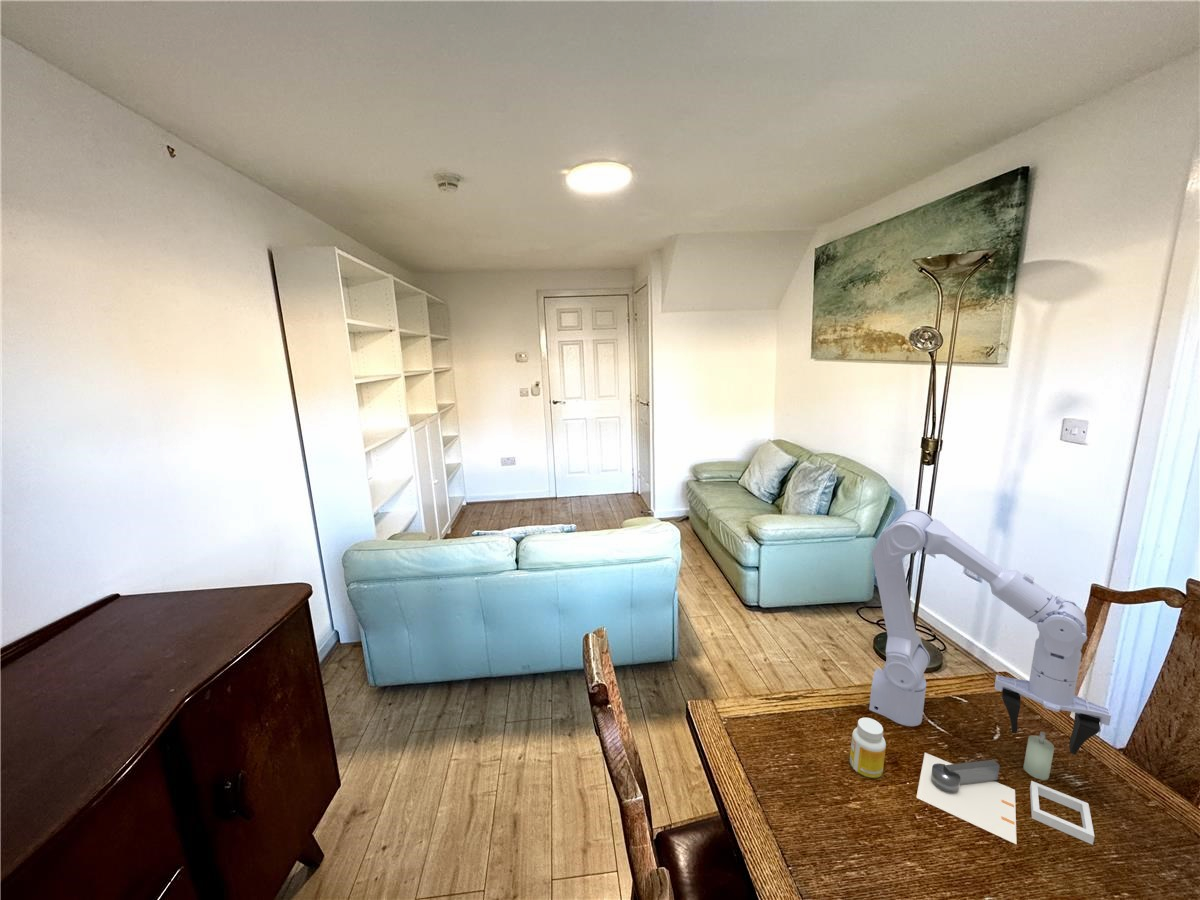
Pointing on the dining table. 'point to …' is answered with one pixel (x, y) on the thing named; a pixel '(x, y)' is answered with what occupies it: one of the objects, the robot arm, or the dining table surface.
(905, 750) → the dining table surface
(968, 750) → the dining table surface
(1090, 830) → the tool holder
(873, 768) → the supplement bottle
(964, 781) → the dial lever
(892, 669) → the robot arm
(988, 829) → the dial panel
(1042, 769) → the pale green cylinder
